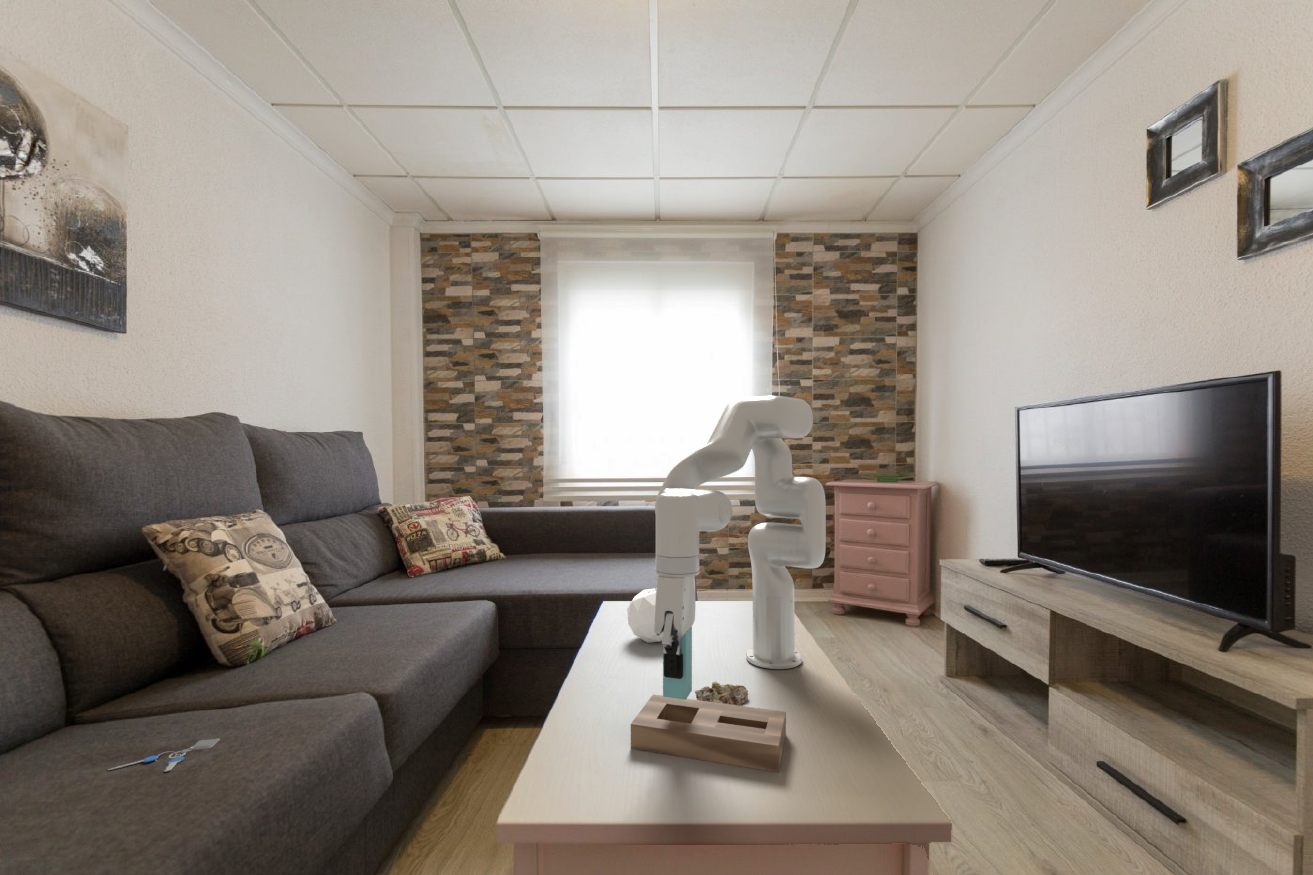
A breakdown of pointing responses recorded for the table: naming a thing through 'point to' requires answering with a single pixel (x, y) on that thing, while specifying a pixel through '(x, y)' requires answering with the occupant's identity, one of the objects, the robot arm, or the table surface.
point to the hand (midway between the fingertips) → (677, 671)
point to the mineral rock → (723, 694)
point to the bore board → (711, 732)
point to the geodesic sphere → (643, 616)
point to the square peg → (683, 685)
